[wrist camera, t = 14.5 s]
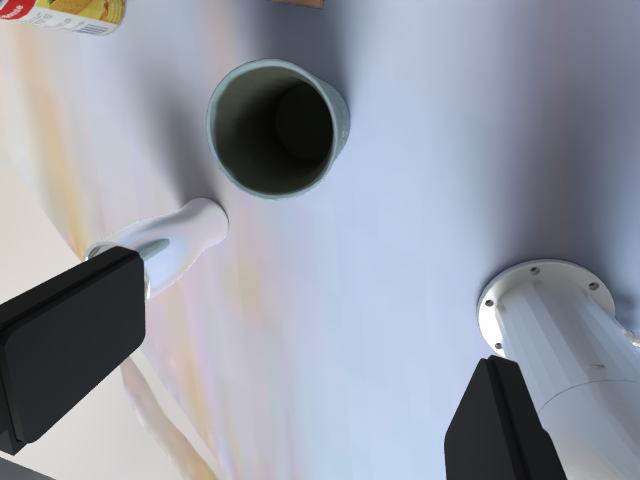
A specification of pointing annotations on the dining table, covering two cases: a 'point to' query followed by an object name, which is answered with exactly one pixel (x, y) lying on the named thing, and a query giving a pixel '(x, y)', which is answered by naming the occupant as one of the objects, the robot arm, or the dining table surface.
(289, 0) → the lid
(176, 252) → the beer glass
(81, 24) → the canned food
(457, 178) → the dining table surface
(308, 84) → the drinking glass
